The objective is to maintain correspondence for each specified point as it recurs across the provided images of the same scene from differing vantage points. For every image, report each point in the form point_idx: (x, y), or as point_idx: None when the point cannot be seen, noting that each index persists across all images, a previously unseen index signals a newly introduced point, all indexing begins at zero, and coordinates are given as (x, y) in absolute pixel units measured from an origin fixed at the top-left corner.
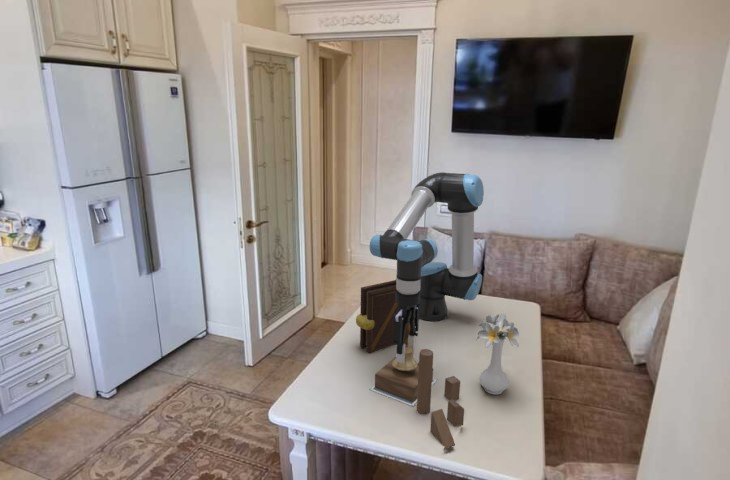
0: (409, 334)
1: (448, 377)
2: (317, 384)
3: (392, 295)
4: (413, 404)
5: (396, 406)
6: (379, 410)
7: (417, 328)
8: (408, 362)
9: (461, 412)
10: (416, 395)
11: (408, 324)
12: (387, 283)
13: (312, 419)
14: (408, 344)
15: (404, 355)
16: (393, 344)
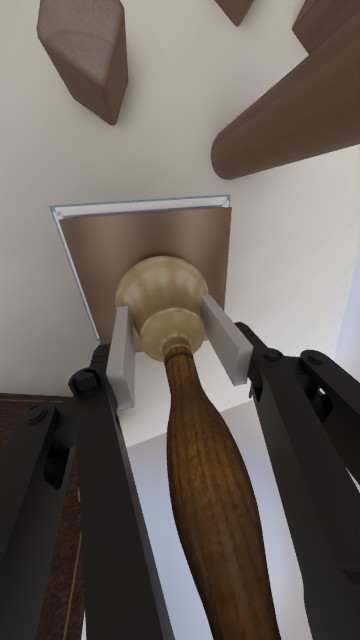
0: (116, 403)
1: (84, 65)
2: (250, 381)
3: None
4: (221, 199)
5: (247, 235)
6: (276, 259)
7: (34, 430)
8: (188, 286)
9: None
10: (196, 208)
11: (243, 531)
12: None
13: (333, 327)
14: (131, 354)
15: (217, 311)
16: (29, 400)
